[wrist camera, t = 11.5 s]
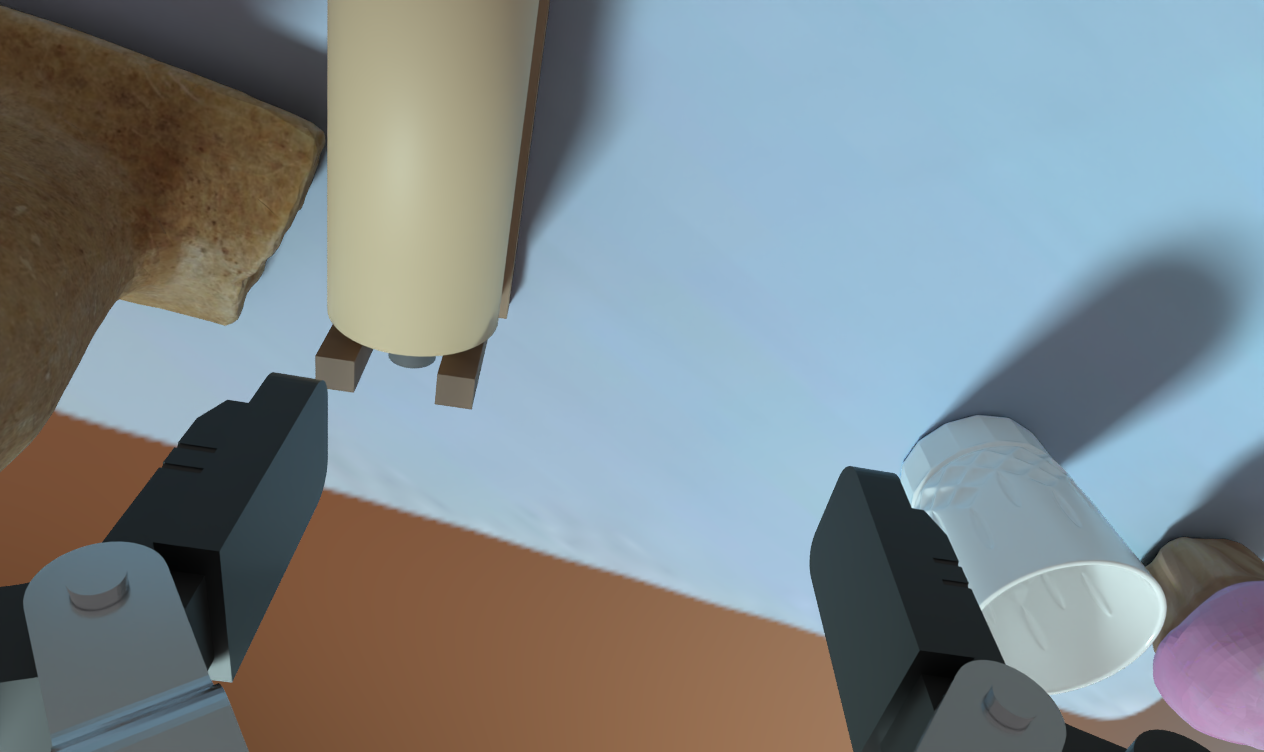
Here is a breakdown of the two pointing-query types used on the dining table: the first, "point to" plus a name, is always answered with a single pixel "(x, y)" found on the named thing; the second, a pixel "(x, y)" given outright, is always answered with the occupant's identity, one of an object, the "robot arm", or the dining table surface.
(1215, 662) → the cupcake
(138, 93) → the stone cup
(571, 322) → the dining table surface
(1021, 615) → the white cup
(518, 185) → the roll stand
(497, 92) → the cylinder
